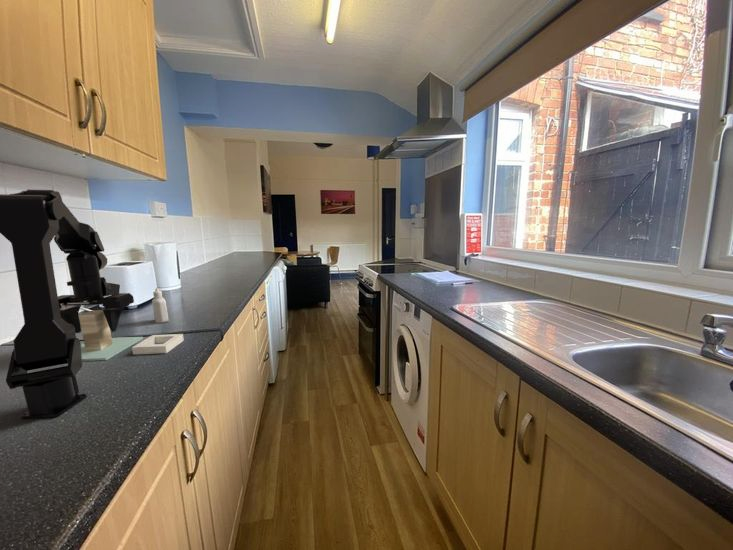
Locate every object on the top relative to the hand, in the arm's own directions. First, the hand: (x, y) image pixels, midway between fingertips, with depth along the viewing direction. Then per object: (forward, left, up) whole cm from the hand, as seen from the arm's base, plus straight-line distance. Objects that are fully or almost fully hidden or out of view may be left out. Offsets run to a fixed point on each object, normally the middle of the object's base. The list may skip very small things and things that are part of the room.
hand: (96, 332), depth 82 cm
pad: (0, 0, -5) cm, 5 cm away
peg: (0, 0, -4) cm, 5 cm away
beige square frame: (0, -16, -5) cm, 17 cm away
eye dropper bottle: (+23, -3, -5) cm, 24 cm away
